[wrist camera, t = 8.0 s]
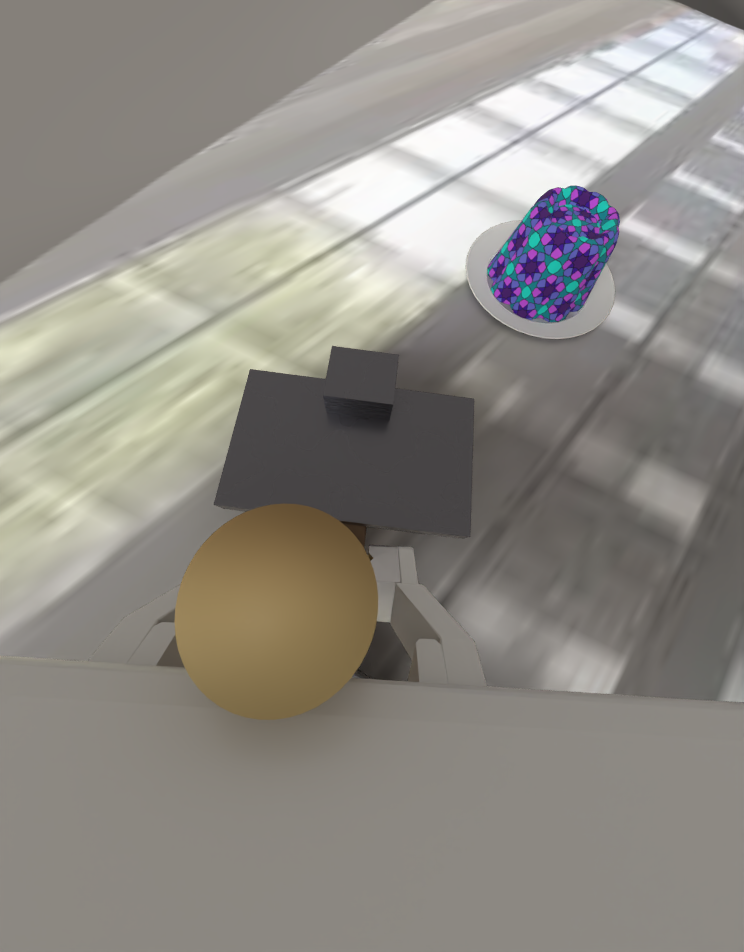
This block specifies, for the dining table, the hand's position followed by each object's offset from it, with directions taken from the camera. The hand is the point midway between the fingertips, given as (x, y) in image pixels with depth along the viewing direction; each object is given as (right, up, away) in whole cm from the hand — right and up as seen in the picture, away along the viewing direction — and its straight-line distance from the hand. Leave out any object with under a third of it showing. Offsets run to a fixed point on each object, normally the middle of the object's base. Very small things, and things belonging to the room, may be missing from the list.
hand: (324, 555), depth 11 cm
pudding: (+15, +18, +14) cm, 28 cm away
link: (-1, -5, +5) cm, 7 cm away
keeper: (+1, +3, +9) cm, 9 cm away
